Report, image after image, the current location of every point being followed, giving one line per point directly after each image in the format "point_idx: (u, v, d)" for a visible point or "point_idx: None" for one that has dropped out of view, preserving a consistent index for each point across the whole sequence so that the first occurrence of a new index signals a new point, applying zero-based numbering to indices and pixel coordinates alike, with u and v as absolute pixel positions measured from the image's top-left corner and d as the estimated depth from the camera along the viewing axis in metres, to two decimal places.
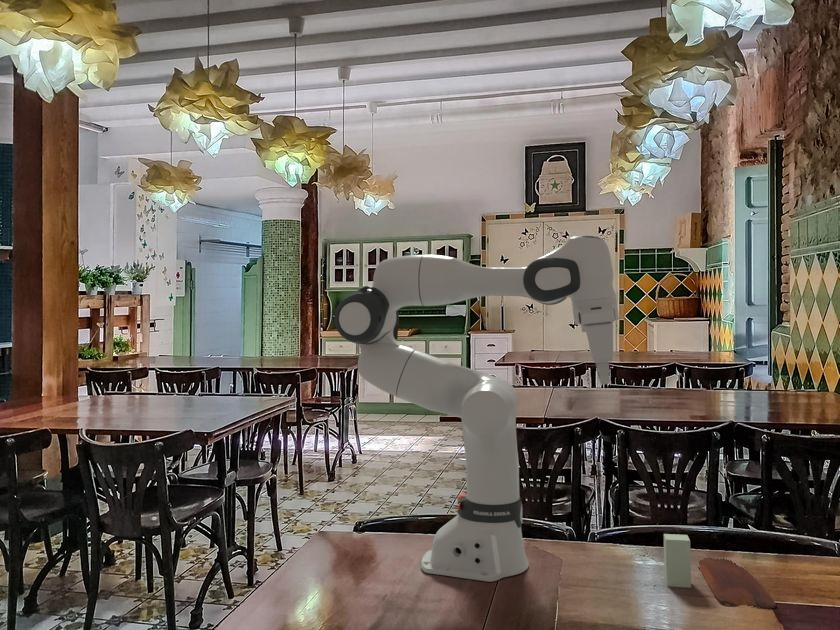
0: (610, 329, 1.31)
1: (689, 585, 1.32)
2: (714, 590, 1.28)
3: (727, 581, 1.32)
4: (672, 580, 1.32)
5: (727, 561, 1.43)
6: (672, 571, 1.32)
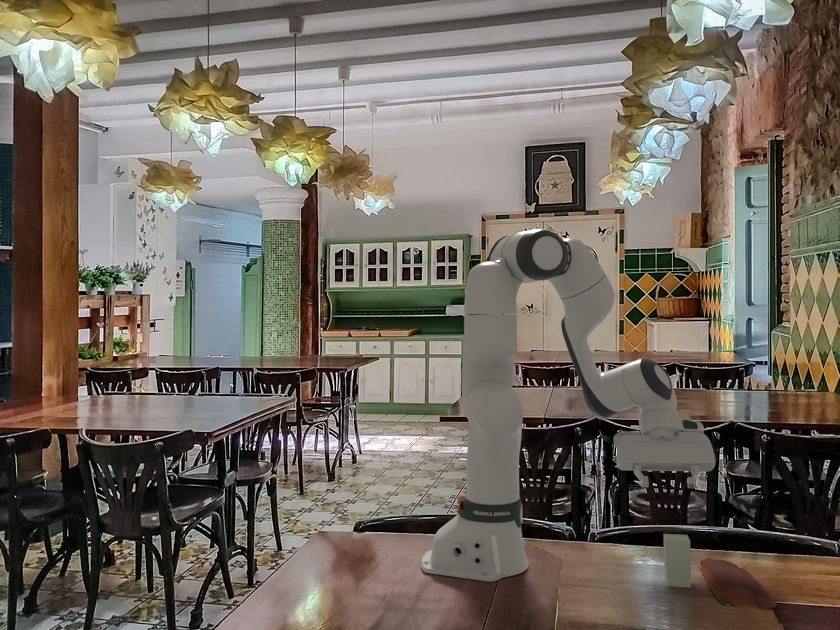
0: None
1: (689, 585, 1.32)
2: (714, 590, 1.28)
3: (727, 582, 1.32)
4: (672, 580, 1.32)
5: None
6: (672, 571, 1.32)
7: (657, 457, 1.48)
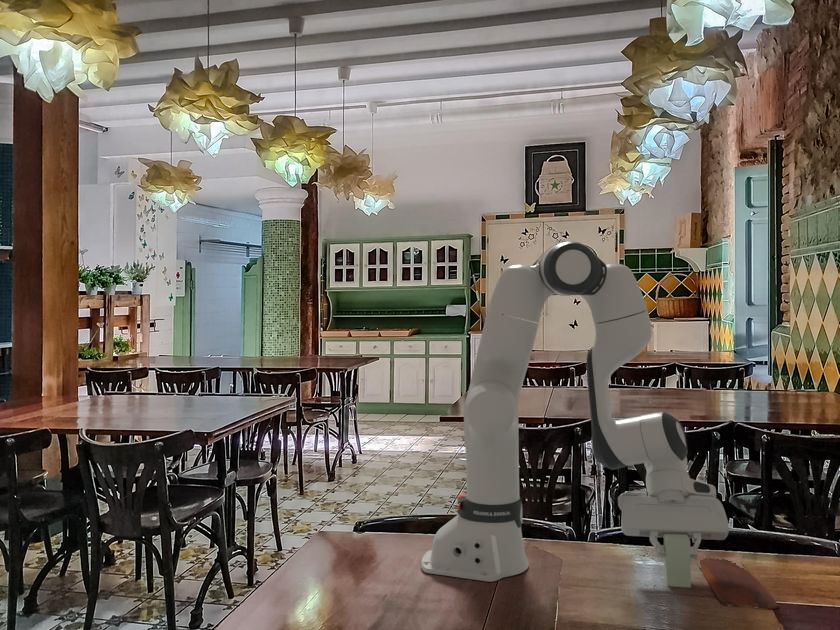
0: None
1: (689, 585, 1.32)
2: (716, 591, 1.28)
3: (728, 582, 1.31)
4: (672, 580, 1.32)
5: (728, 561, 1.43)
6: (672, 571, 1.32)
7: (665, 524, 1.36)
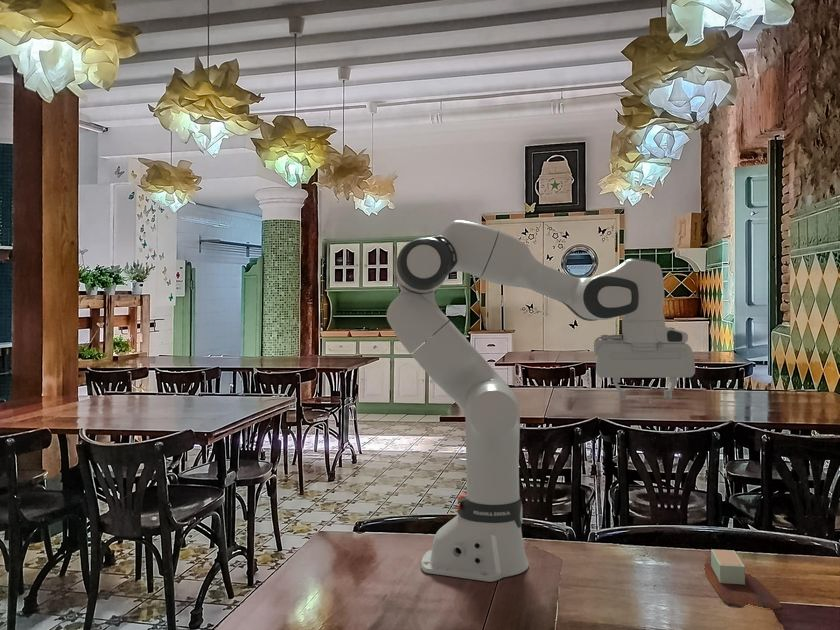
0: None
1: None
2: (720, 592, 1.28)
3: None
4: None
5: None
6: None
7: (637, 372, 1.47)
